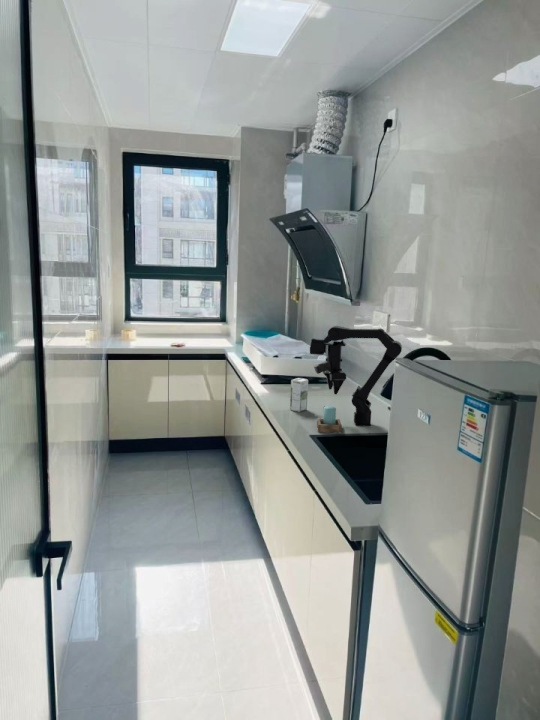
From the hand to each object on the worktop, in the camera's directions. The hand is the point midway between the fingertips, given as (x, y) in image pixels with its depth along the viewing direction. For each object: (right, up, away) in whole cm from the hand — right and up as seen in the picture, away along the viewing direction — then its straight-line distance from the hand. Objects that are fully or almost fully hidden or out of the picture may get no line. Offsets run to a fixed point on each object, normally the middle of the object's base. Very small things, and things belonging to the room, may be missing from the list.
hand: (332, 391), depth 238 cm
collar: (-3, -15, -10) cm, 18 cm away
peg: (-3, -15, -9) cm, 18 cm away
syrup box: (-14, -10, +19) cm, 26 cm away
